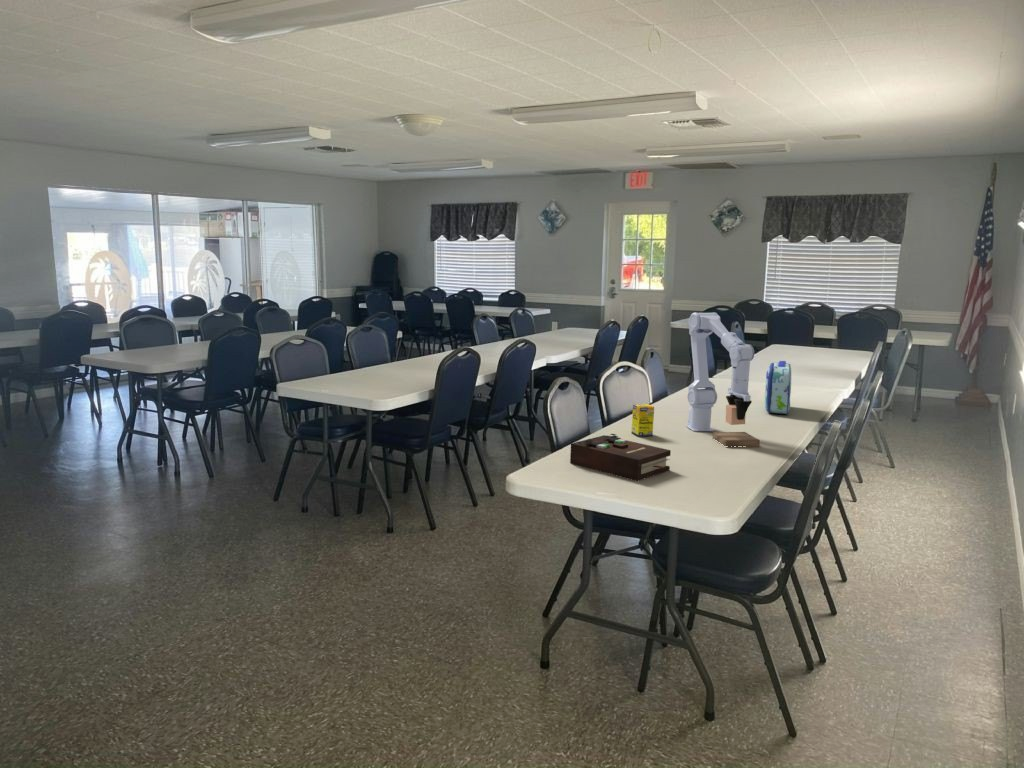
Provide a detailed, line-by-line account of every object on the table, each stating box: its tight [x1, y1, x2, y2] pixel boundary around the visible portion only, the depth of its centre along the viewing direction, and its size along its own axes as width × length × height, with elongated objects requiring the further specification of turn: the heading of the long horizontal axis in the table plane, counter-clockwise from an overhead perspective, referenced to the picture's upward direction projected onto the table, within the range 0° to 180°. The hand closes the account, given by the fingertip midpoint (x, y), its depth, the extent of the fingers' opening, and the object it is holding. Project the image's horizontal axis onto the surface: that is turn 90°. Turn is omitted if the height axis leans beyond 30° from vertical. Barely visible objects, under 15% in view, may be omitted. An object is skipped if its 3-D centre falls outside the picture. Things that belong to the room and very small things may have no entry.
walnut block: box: [712, 431, 760, 448], centre depth 266 cm, size 12×12×3 cm
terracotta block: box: [725, 404, 746, 426], centre depth 264 cm, size 5×5×6 cm
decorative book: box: [569, 433, 672, 482], centre depth 232 cm, size 19×8×30 cm
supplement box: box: [631, 403, 655, 438], centre depth 274 cm, size 6×6×11 cm
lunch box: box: [764, 360, 792, 415], centre depth 324 cm, size 26×11×21 cm, turn 160°
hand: (737, 417), depth 264 cm, fingers closed on terracotta block, 5 cm apart
